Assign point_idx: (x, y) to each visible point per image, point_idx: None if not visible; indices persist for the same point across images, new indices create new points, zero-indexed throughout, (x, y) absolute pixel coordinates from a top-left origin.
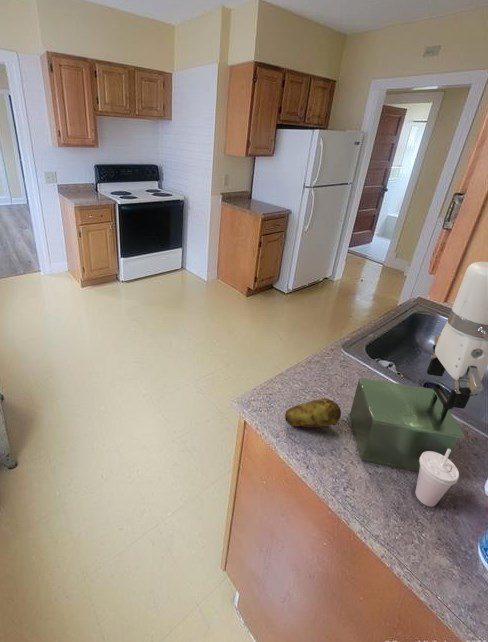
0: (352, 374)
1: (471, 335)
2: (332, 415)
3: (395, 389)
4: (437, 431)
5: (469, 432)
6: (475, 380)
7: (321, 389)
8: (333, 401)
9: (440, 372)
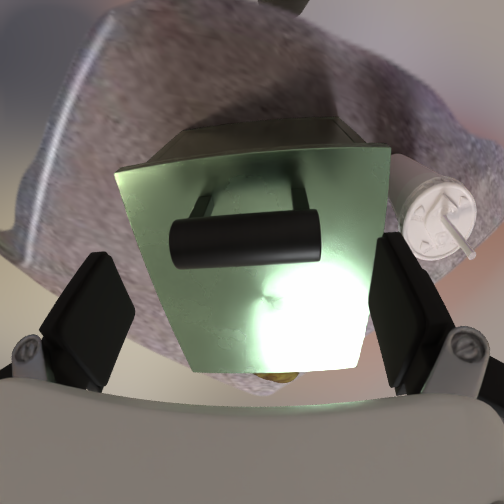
0: (79, 255)
1: None
2: None
3: (198, 310)
4: None
5: (147, 5)
6: None
7: (165, 315)
8: None
9: (103, 286)
